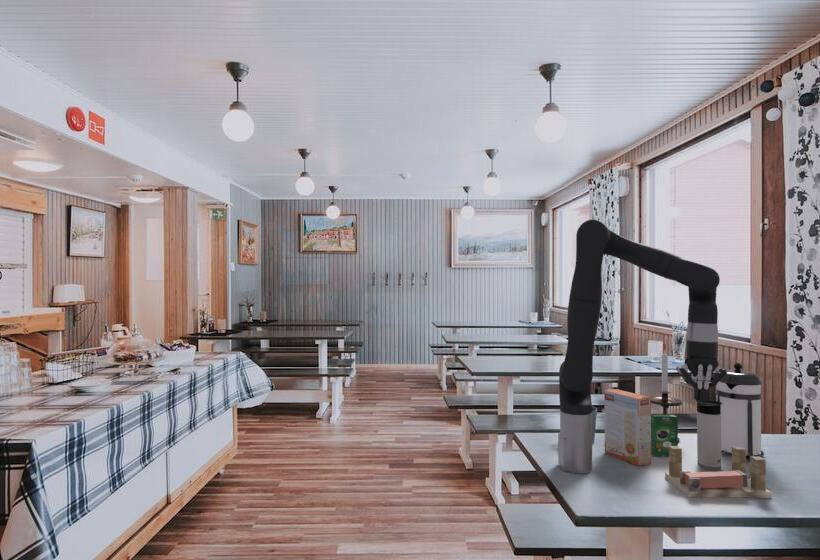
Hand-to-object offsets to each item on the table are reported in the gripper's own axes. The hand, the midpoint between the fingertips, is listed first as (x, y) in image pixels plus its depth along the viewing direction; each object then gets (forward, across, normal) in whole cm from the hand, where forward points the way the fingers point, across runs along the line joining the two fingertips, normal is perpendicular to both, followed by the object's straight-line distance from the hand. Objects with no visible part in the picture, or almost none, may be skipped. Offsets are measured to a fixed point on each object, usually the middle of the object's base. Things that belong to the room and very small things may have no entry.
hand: (700, 401), depth 135 cm
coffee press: (+23, +27, +27) cm, 45 cm away
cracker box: (+24, -11, +22) cm, 34 cm away
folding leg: (+20, -4, -4) cm, 21 cm away
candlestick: (+24, +10, +41) cm, 48 cm away
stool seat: (+23, +4, 0) cm, 24 cm away
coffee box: (+24, +2, +25) cm, 34 cm away
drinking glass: (+24, -20, +38) cm, 50 cm away
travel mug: (+23, +11, +15) cm, 30 cm away
